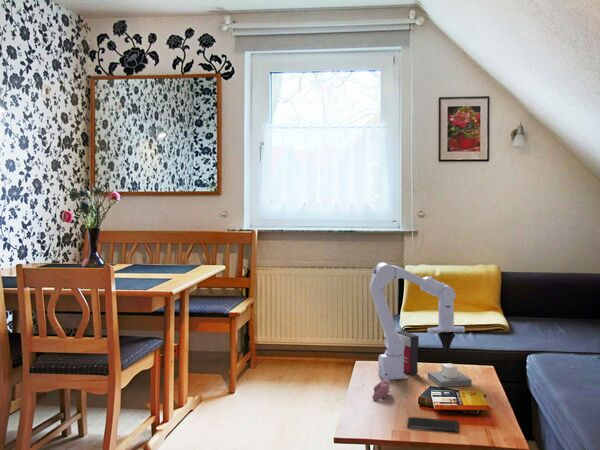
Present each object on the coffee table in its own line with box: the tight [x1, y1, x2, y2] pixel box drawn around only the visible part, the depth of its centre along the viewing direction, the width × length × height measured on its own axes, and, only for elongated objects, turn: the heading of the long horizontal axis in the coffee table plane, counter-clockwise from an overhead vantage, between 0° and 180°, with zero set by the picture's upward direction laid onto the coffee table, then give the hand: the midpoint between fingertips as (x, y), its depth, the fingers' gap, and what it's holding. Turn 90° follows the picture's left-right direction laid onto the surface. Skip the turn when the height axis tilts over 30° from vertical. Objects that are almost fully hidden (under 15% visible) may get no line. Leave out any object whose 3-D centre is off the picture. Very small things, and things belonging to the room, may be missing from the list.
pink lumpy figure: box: [372, 378, 391, 401], centre depth 202 cm, size 10×5×7 cm, turn 170°
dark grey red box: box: [396, 330, 420, 376], centre depth 231 cm, size 11×4×15 cm, turn 25°
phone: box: [406, 416, 460, 434], centre depth 175 cm, size 8×1×15 cm
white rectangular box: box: [441, 362, 458, 378], centre depth 217 cm, size 4×5×6 cm
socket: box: [427, 369, 472, 388], centre depth 217 cm, size 12×12×3 cm
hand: (446, 351), depth 224 cm, fingers closed
